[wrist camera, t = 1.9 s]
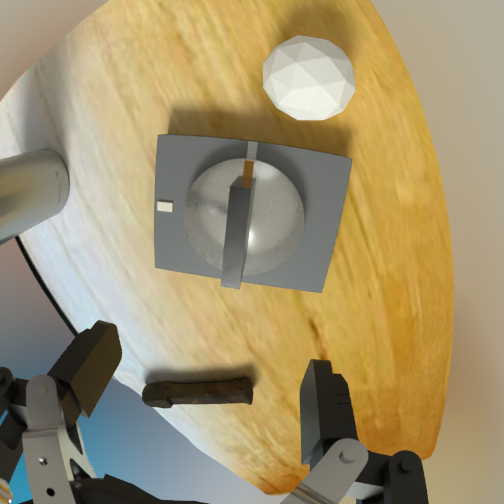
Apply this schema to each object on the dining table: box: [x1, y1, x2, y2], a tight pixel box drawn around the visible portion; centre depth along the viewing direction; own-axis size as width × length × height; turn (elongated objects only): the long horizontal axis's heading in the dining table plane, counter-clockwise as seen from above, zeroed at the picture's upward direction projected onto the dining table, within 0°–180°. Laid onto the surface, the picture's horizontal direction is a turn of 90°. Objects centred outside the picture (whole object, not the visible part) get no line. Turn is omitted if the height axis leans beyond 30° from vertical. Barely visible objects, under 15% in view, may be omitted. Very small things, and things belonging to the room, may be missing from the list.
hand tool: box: [142, 377, 253, 408], centre depth 39 cm, size 19×4×5 cm, turn 102°
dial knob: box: [183, 158, 304, 289], centre depth 23 cm, size 11×11×6 cm
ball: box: [263, 35, 356, 120], centre depth 20 cm, size 8×8×8 cm
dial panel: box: [154, 134, 352, 293], centre depth 27 cm, size 18×14×3 cm
